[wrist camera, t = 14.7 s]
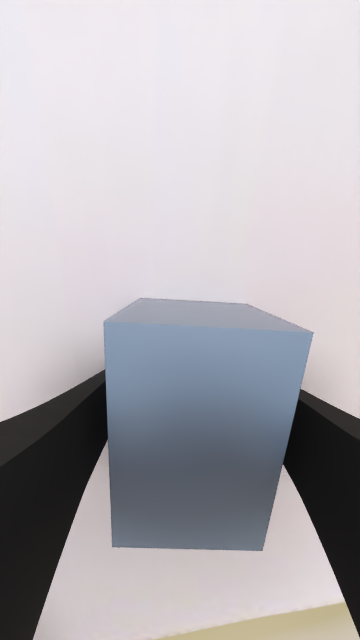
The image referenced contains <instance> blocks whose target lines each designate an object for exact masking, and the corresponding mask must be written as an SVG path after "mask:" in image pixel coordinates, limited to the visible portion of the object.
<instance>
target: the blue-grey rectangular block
mask: <svg viewBox="0 0 360 640" xmlns="http://www.w3.org/2000/svg"><path fill="white" fill-rule="evenodd" d="M312 337H313V332H311V331H309V330H307V329H304V328H302V327H300V326H297V325H295V324H293V323H290V322H288V321H286V320H283V319H281V318H279V317H276V316H274V315H272V314H269V313H267V312H264V311H262V310H260V309H257V308H255V307H253V306H250V305H248V304H238V303H220V302H202V301H184V300H167V299H149V298H140V299H138V300H137V301H135V302H134V303H132V304H130V305H129V306H127V307H126V308H124V309H122V310H121V311H119V312H118V313H116V314H114V315H113V316H111V317H110V318H108V319H106V320H105V321H104V346H105V372H106V398H107V424H108V450H109V476H110V501H111V527H112V547H130V548H169V549H207V550H246V551H262V550H263V546H264V542H265V537H266V533H267V529H268V525H269V520H270V516H271V512H272V507H273V503H274V499H275V495H276V490H277V486H278V482H279V478H280V473H281V469H282V465H283V461H284V456H285V452H286V448H287V443H288V439H289V435H290V431H291V426H292V422H293V418H294V414H295V409H296V405H297V401H298V397H299V392H300V388H301V384H302V379H303V375H304V371H305V367H306V362H307V358H308V354H309V350H310V345H311V341H312Z"/></svg>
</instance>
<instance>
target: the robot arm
mask: <svg viewBox="0 0 360 640" xmlns="http://www.w3.org/2000/svg"><path fill="white" fill-rule="evenodd" d="M107 440H108V424H107V398H106V372H105V370H104V371H102V372H100V373H98V374H96V375H95V376H93V377H91V378H89V379H88V380H86V381H84V382H83V383H81V384H79V385H77V386H76V387H74V388H72V389H70V390H68V391H67V392H65V393H63V394H61V395H59V396H57V397H55V398H53V399H51V400H50V401H48V402H46V403H44V404H41V405H39V406H37V407H35V408H33V409H31V410H28V411H26V412H24V413H22V414H19V415H17V416H15V417H12V418H10V419H7V420H5V421H2V422H0V640H33V637H34V634H35V631H36V627H37V624H38V621H39V618H40V615H41V612H42V609H43V606H44V603H45V601H46V598H47V595H48V592H49V589H50V586H51V583H52V580H53V577H54V574H55V571H56V568H57V565H58V562H59V559H60V556H61V554H62V551H63V548H64V545H65V542H66V539H67V537H68V534H69V531H70V528H71V525H72V523H73V520H74V517H75V514H76V512H77V509H78V506H79V504H80V501H81V498H82V495H83V493H84V490H85V488H86V485H87V483H88V481H89V478H90V476H91V474H92V472H93V470H94V468H95V465H96V463H97V461H98V459H99V457H100V455H101V452H102V450H103V448H104V446H105V444H106V442H107ZM283 465H284V466H285V468H286V470H287V472H288V474H289V476H290V477H291V479H292V481H293V483H294V485H295V487H296V489H297V491H298V492H299V494H300V496H301V498H302V501H303V503H304V505H305V507H306V509H307V512H308V514H309V516H310V518H311V521H312V523H313V525H314V527H315V529H316V532H317V534H318V536H319V539H320V541H321V543H322V546H323V548H324V550H325V553H326V555H327V558H328V560H329V562H330V565H331V567H332V569H333V572H334V574H335V577H336V579H337V582H338V584H339V587H340V589H341V592H342V594H343V597H344V599H345V602H346V604H347V607H348V609H349V612H350V614H351V617H352V619H353V622H354V624H355V626H356V629H357V632H358V634H359V637H360V419H359V418H356V417H354V416H352V415H350V414H348V413H346V412H344V411H342V410H340V409H338V408H336V407H334V406H332V405H330V404H328V403H326V402H324V401H322V400H321V399H319V398H317V397H315V396H313V395H311V394H309V393H307V392H306V391H304V390H302V389H300V392H299V397H298V401H297V405H296V409H295V414H294V418H293V422H292V426H291V431H290V435H289V439H288V443H287V448H286V452H285V456H284V461H283Z"/></svg>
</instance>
